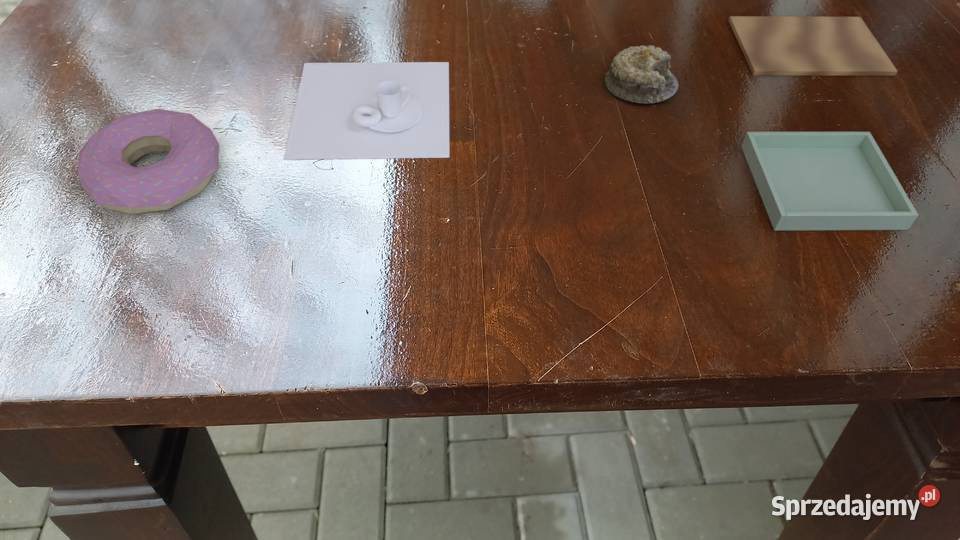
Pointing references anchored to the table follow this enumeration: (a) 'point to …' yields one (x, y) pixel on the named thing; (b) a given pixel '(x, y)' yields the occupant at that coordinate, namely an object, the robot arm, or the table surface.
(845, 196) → the tray
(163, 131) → the donut
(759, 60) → the mat
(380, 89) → the teacup and saucer
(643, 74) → the cake
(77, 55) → the table surface
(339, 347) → the table surface
